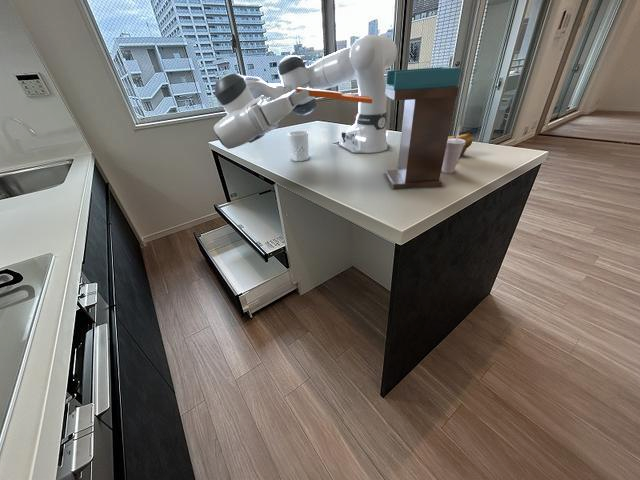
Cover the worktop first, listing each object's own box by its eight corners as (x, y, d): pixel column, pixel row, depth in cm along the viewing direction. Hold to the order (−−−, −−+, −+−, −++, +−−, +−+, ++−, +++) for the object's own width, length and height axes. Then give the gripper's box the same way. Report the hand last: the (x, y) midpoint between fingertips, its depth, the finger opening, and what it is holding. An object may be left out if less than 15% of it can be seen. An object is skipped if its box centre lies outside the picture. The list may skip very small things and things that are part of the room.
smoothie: (460, 174, 83) (472, 127, 75) (439, 174, 84) (448, 128, 77) (456, 167, 88) (466, 123, 80) (435, 167, 90) (444, 123, 82)
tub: (394, 90, 64) (395, 72, 61) (385, 87, 73) (387, 71, 70) (457, 86, 63) (461, 67, 60) (441, 83, 72) (443, 66, 70)
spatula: (295, 95, 68) (295, 88, 67) (298, 93, 73) (298, 86, 72) (371, 103, 68) (372, 97, 67) (369, 100, 73) (370, 94, 72)
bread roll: (443, 161, 94) (447, 138, 89) (425, 155, 102) (429, 133, 97) (471, 156, 97) (477, 133, 93) (452, 149, 105) (457, 128, 100)
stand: (386, 190, 77) (395, 91, 63) (379, 174, 88) (385, 87, 73) (441, 187, 76) (463, 86, 62) (427, 172, 87) (443, 82, 72)
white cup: (305, 162, 103) (303, 135, 98) (287, 161, 106) (284, 135, 100) (312, 156, 110) (310, 131, 104) (295, 155, 112) (292, 131, 106)
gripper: (277, 118, 84) (316, 98, 80) (263, 133, 67) (311, 108, 63) (267, 98, 80) (307, 76, 77) (249, 108, 64) (299, 80, 60)
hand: (309, 90), depth 70 cm, fingers closed on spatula, 3 cm apart
